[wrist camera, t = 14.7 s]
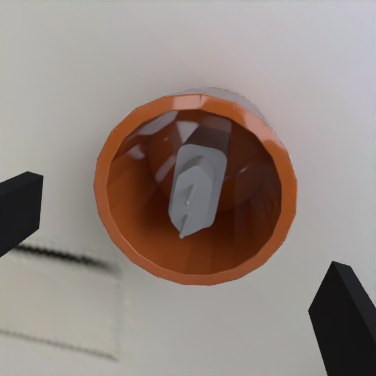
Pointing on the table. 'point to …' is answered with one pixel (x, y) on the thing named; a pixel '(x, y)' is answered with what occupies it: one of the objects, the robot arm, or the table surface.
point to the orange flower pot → (163, 179)
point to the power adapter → (198, 180)
